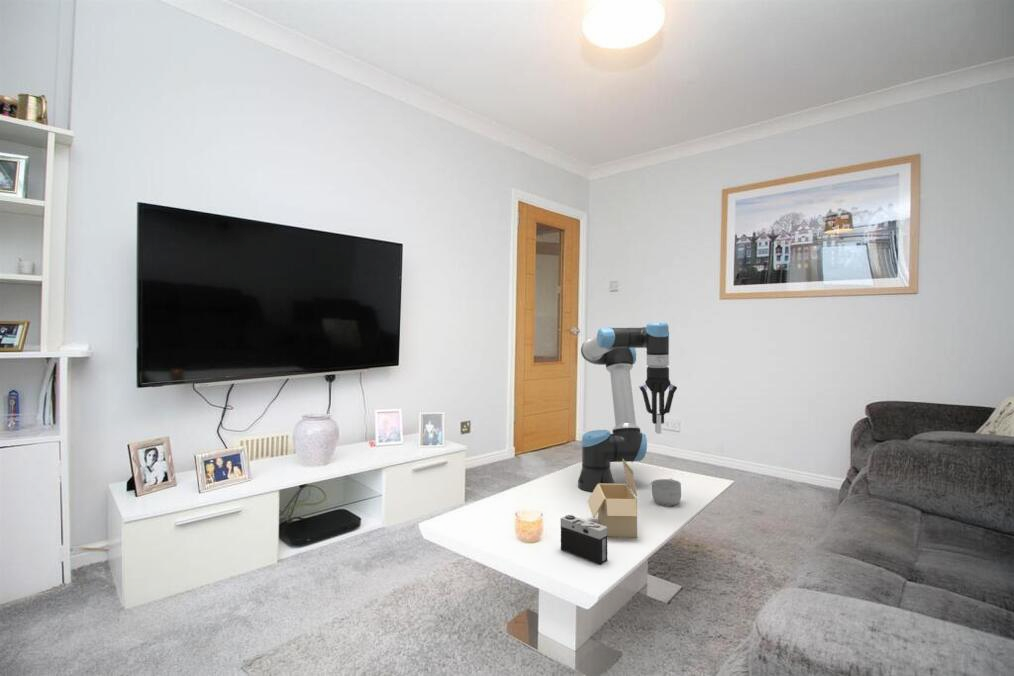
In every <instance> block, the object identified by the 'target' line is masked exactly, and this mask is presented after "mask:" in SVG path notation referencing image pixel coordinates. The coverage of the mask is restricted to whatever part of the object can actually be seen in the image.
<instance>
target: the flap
mask: <svg viewBox="0 0 1014 676" xmlns="http://www.w3.org/2000/svg"><path fill="white" fill-rule="evenodd" d="M622 461H623V462H622V465H623V470H624V475H625V482H626V484H627V485H628V487H629V488H630V490H631V491H632V493H633V494H634V496H635V497H637V496H638V493H637V489H636V484H635V483H636V482H635V478H634V471H633V470H632V468H631V467H630V466H629V464H628V463H627V462H625V460H624V459H622Z"/></svg>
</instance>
